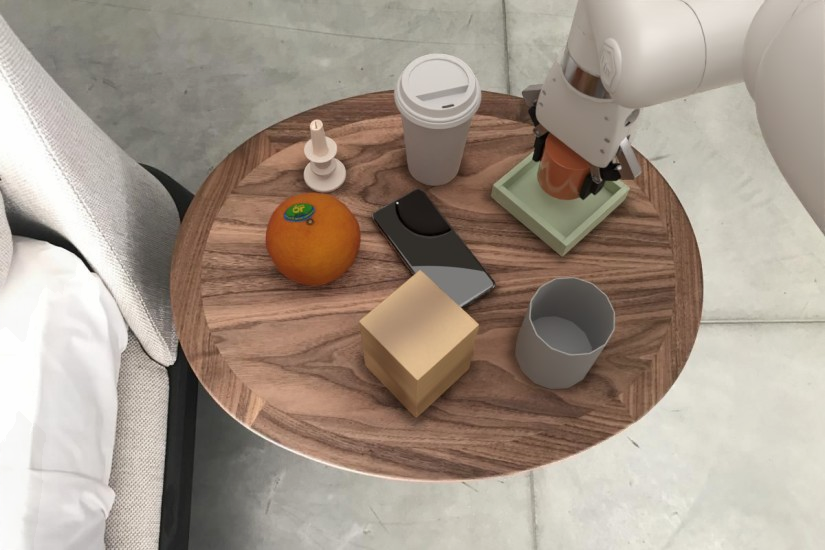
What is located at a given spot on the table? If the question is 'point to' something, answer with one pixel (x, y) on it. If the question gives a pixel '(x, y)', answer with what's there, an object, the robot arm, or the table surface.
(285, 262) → the fruit
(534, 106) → the robot arm
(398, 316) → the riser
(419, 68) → the coffee cup
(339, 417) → the table surface
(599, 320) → the cup
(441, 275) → the smartphone
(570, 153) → the orange cylinder puck
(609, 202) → the tray
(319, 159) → the candle
